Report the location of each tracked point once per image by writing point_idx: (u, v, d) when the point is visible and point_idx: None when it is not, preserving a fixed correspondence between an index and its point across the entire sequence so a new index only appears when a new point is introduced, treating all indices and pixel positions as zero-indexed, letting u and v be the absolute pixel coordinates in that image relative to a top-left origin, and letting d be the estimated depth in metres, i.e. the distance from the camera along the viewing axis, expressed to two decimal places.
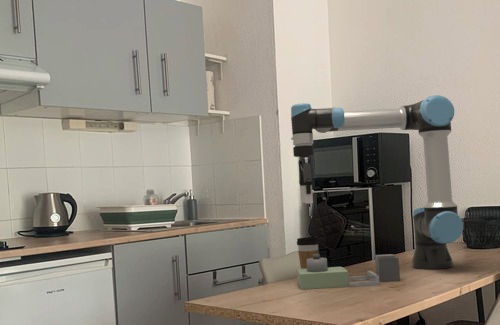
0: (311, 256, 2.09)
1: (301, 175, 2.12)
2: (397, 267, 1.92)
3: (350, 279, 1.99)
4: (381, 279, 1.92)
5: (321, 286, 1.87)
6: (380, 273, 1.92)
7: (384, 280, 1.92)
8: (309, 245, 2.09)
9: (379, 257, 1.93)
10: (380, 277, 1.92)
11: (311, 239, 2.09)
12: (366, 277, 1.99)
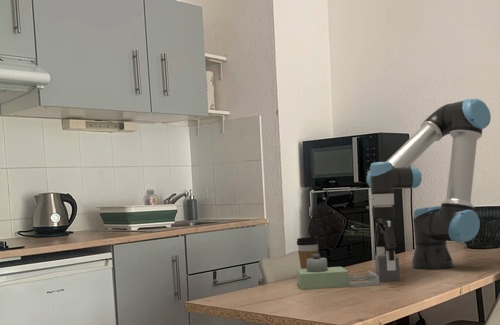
0: (311, 256, 2.09)
1: (379, 236, 1.99)
2: (397, 267, 1.92)
3: (350, 279, 1.99)
4: (381, 279, 1.92)
5: (321, 286, 1.87)
6: (380, 273, 1.92)
7: (384, 280, 1.92)
8: (309, 245, 2.09)
9: (379, 257, 1.93)
10: (380, 277, 1.92)
11: (311, 239, 2.09)
12: (366, 277, 1.99)
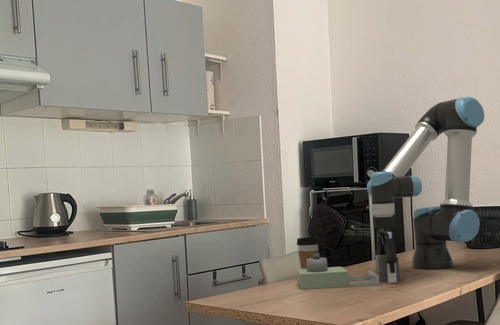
0: (311, 256, 2.09)
1: (380, 247, 1.99)
2: (397, 267, 1.92)
3: (350, 279, 1.99)
4: (381, 279, 1.92)
5: (321, 286, 1.87)
6: (380, 273, 1.92)
7: (384, 280, 1.92)
8: (309, 245, 2.09)
9: (379, 257, 1.93)
10: (380, 277, 1.92)
11: (311, 239, 2.09)
12: (366, 277, 1.99)
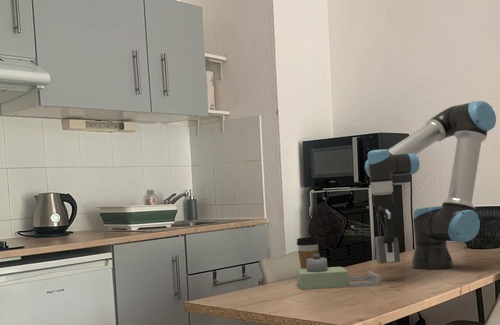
0: (311, 256, 2.09)
1: (381, 227, 1.97)
2: (397, 248, 1.93)
3: (350, 279, 1.99)
4: (381, 260, 1.93)
5: (321, 286, 1.87)
6: (380, 254, 1.93)
7: (384, 261, 1.93)
8: (309, 245, 2.09)
9: (379, 239, 1.93)
10: (380, 258, 1.93)
11: (311, 239, 2.09)
12: (366, 277, 1.99)
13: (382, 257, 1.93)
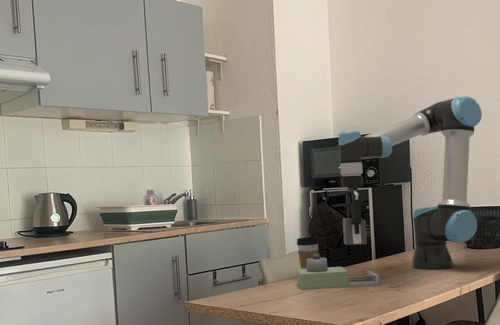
0: (311, 256, 2.09)
1: (350, 209, 1.96)
2: (364, 230, 1.92)
3: (350, 279, 1.99)
4: (348, 242, 1.91)
5: (321, 286, 1.87)
6: (347, 236, 1.92)
7: (351, 243, 1.91)
8: (309, 245, 2.09)
9: (346, 220, 1.92)
10: (347, 240, 1.92)
11: (311, 239, 2.09)
12: (366, 277, 1.99)
13: (349, 238, 1.92)
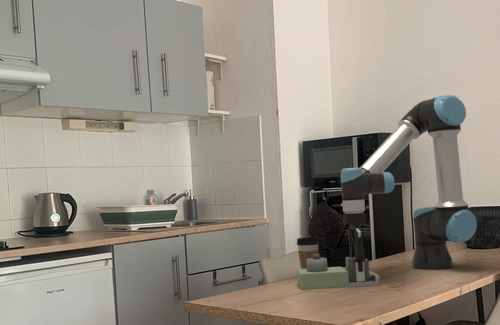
0: (311, 256, 2.09)
1: (352, 245, 1.96)
2: (367, 269, 1.91)
3: None
4: (351, 281, 1.91)
5: (321, 286, 1.87)
6: (350, 275, 1.91)
7: None
8: (309, 245, 2.09)
9: (349, 259, 1.92)
10: (350, 279, 1.91)
11: (311, 239, 2.09)
12: None
13: (352, 278, 1.91)
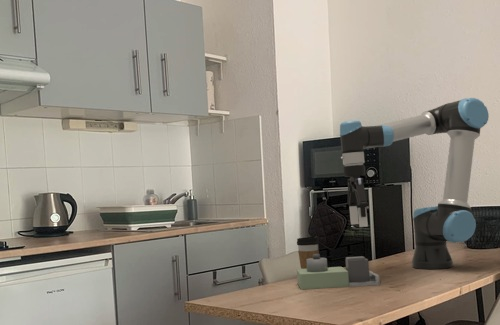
0: (311, 256, 2.09)
1: (351, 195, 2.01)
2: (367, 269, 1.91)
3: None
4: (351, 281, 1.91)
5: (321, 286, 1.87)
6: (350, 275, 1.91)
7: None
8: (310, 245, 2.09)
9: (349, 259, 1.92)
10: (350, 279, 1.91)
11: (311, 239, 2.09)
12: None
13: (352, 278, 1.91)
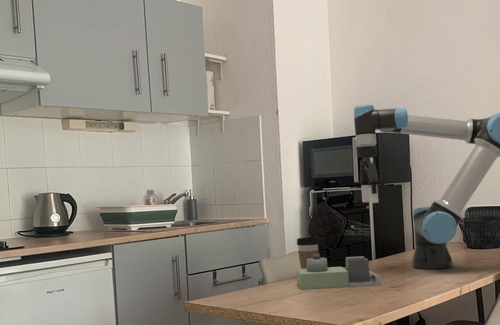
0: (311, 256, 2.09)
1: (363, 175, 2.15)
2: (367, 269, 1.91)
3: None
4: (351, 281, 1.91)
5: (321, 286, 1.87)
6: (350, 275, 1.91)
7: None
8: (309, 245, 2.09)
9: (349, 259, 1.92)
10: (350, 279, 1.91)
11: (311, 239, 2.09)
12: None
13: (352, 278, 1.91)
